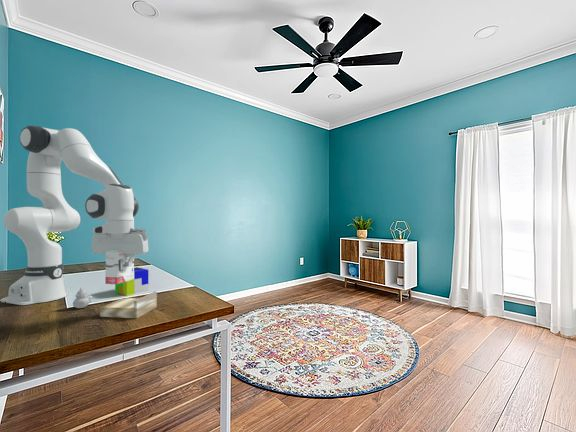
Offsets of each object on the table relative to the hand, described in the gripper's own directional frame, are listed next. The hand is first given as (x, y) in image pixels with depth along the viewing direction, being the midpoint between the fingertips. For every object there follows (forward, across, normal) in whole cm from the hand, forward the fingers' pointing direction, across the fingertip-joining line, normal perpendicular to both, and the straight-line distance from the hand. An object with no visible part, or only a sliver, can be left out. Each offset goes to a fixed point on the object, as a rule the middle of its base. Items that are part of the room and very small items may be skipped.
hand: (120, 266), depth 103 cm
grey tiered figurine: (+17, +19, -4) cm, 26 cm away
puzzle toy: (+18, +15, -27) cm, 36 cm away
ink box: (+6, 0, 0) cm, 6 cm away
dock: (+17, -2, -2) cm, 17 cm away
